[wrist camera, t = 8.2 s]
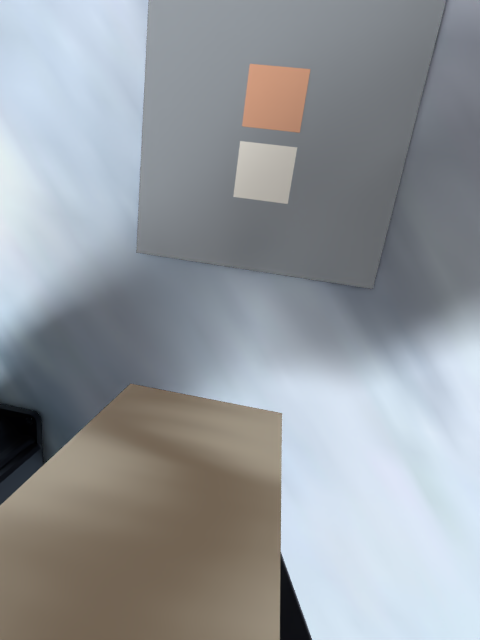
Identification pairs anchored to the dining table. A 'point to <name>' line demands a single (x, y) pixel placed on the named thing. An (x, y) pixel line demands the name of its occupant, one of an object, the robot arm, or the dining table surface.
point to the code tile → (280, 130)
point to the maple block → (149, 527)
